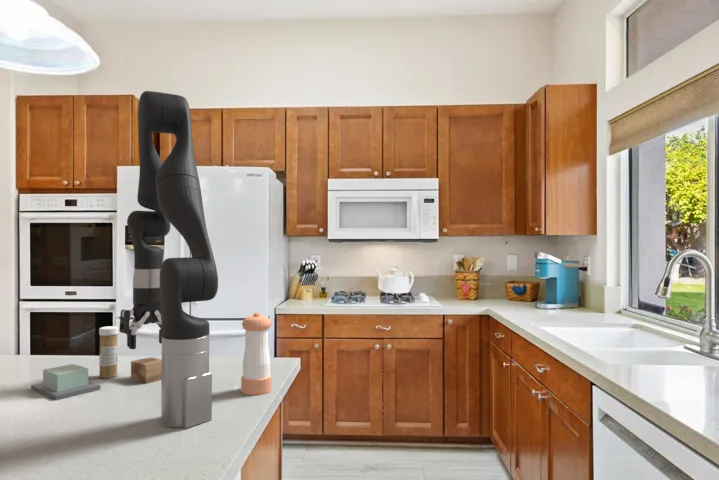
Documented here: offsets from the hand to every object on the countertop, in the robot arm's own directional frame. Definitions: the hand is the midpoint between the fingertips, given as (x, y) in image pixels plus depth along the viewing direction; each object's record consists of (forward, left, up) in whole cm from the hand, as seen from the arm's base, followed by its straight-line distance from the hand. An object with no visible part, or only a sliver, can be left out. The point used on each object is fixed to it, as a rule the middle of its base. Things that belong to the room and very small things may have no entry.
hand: (147, 346), depth 128 cm
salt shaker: (-31, -10, -9) cm, 34 cm away
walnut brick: (0, 0, -9) cm, 9 cm away
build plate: (+8, +17, -9) cm, 21 cm away
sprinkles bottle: (+11, +5, -9) cm, 15 cm away
